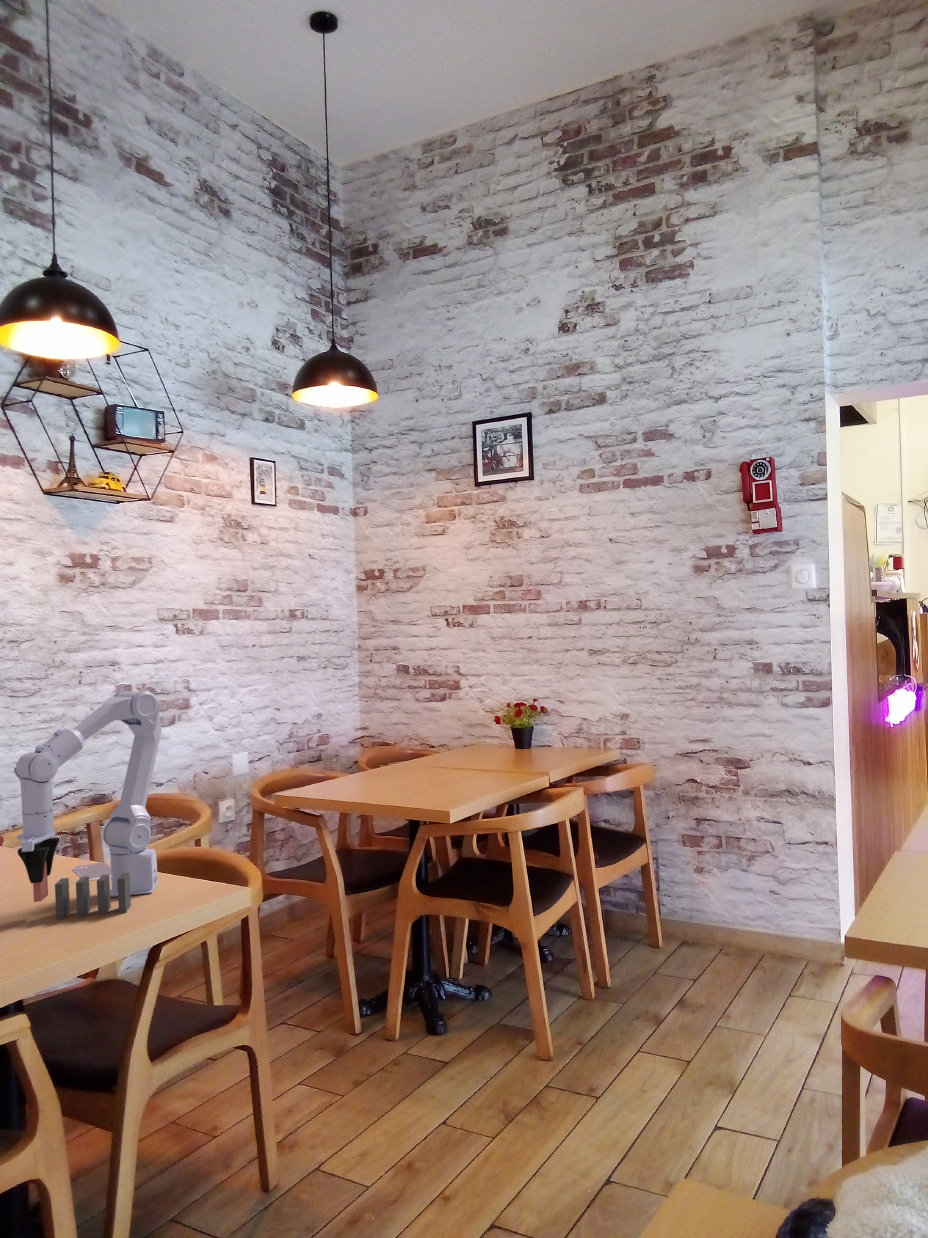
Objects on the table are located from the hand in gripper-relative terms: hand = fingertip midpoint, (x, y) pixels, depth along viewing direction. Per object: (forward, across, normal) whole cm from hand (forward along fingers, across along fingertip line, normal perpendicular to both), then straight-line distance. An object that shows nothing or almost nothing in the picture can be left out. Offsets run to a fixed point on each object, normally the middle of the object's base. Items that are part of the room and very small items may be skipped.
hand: (40, 879), depth 179 cm
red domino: (+4, 0, 0) cm, 4 cm away
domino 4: (+8, 0, +16) cm, 18 cm away
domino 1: (+8, 0, +4) cm, 9 cm away
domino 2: (+8, 0, +8) cm, 11 cm away
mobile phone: (+8, -34, +2) cm, 35 cm away
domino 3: (+8, 0, +12) cm, 14 cm away
